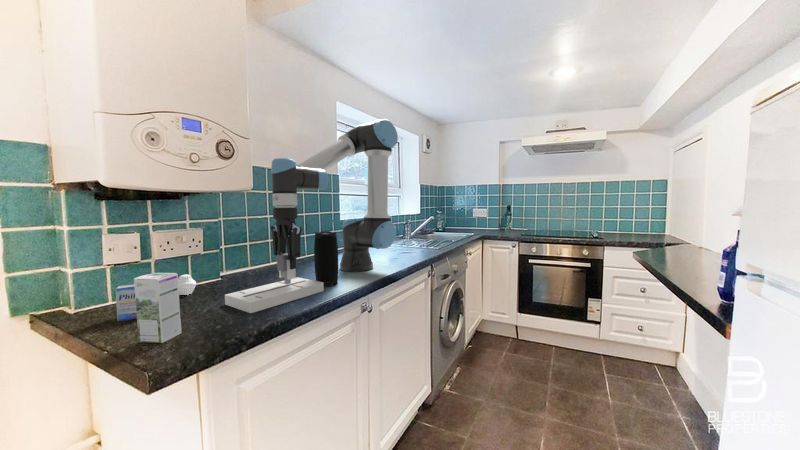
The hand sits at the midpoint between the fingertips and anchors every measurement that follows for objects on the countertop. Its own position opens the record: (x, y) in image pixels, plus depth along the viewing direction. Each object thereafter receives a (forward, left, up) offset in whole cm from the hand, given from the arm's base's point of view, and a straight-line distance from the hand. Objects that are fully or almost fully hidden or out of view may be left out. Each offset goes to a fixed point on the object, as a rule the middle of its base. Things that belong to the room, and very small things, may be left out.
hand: (287, 277), depth 103 cm
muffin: (+19, -29, -6) cm, 35 cm away
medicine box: (+35, -17, -6) cm, 39 cm away
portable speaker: (-16, +1, -6) cm, 17 cm away
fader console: (+4, 0, -6) cm, 7 cm away
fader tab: (0, 0, -2) cm, 2 cm away
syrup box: (+37, +5, -6) cm, 38 cm away
